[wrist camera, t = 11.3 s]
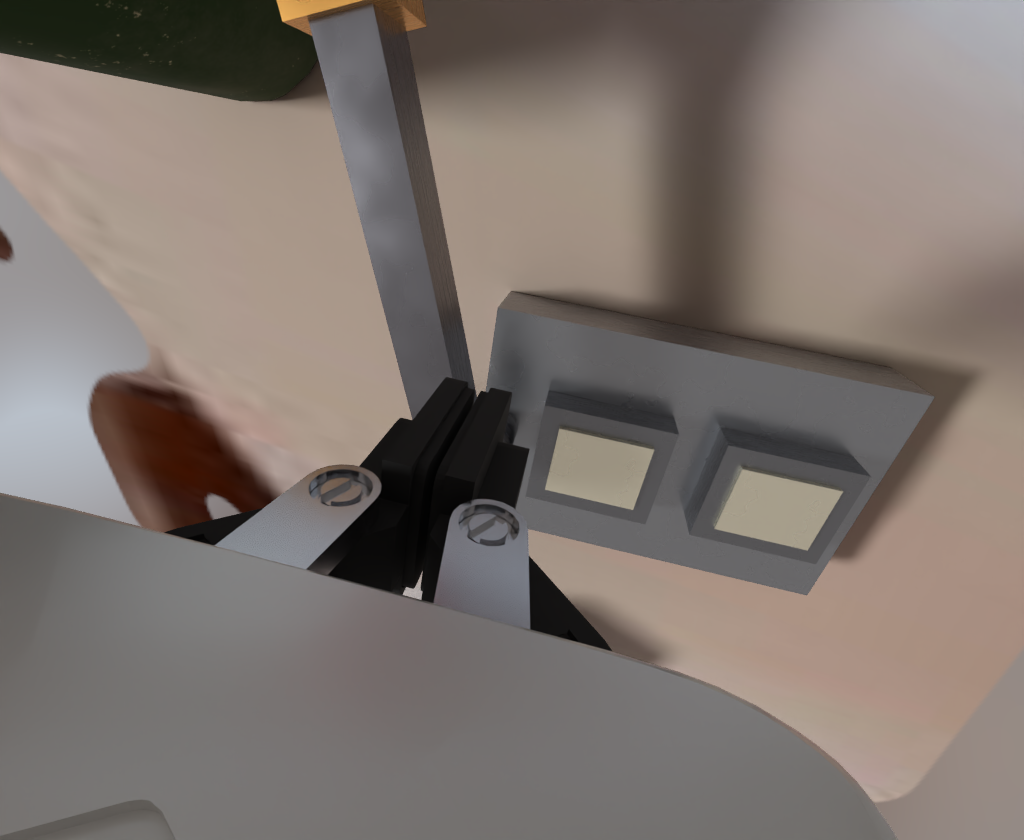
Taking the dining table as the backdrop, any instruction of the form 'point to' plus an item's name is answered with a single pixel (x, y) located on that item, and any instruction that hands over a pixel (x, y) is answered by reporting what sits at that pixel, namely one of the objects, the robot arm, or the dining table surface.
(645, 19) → the dining table surface
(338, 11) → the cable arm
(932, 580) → the dining table surface
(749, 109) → the dining table surface
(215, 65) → the green bottle
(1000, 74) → the dining table surface
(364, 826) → the robot arm
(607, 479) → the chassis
